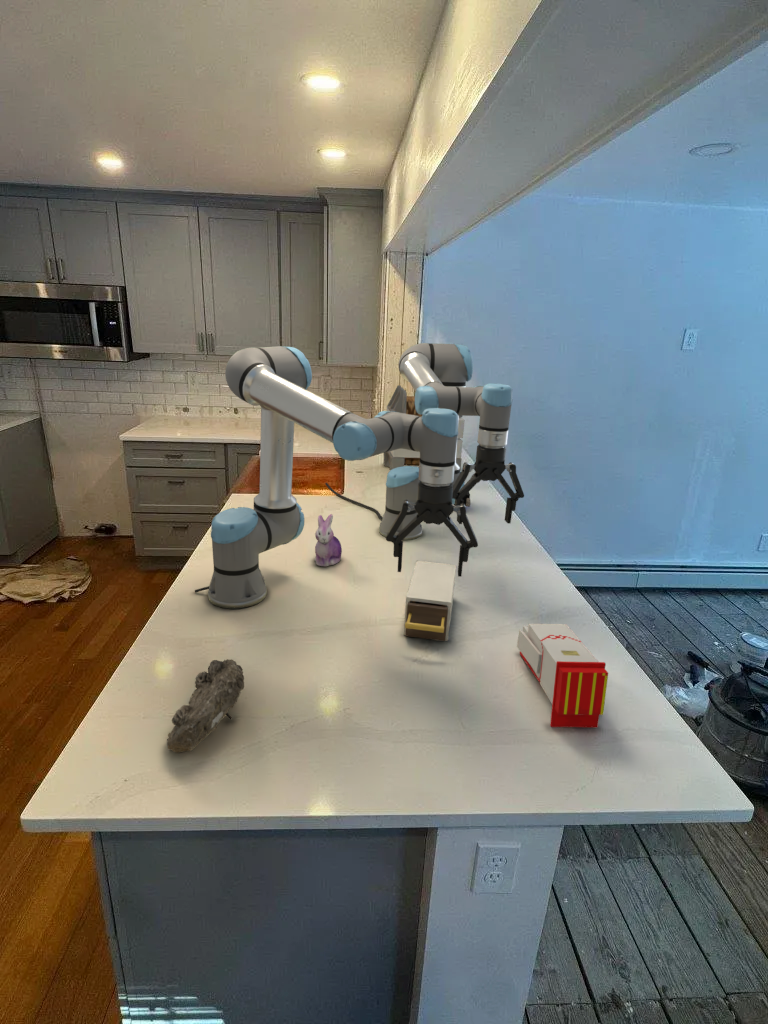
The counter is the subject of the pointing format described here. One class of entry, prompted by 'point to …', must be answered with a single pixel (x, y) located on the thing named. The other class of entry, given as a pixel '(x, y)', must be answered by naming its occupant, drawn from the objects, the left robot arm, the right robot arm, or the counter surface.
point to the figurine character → (466, 500)
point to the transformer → (409, 457)
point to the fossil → (206, 705)
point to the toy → (565, 673)
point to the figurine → (326, 543)
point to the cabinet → (432, 586)
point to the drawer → (426, 620)
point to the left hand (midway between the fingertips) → (429, 571)
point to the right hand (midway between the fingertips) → (483, 522)
